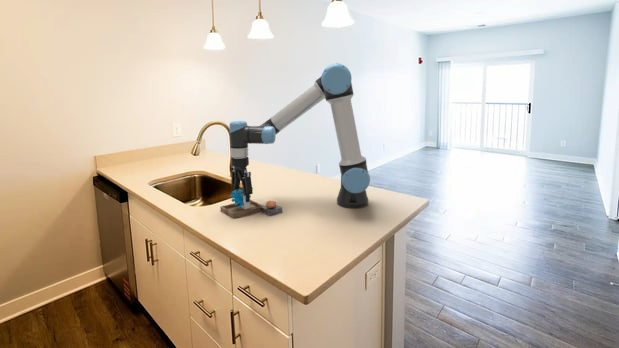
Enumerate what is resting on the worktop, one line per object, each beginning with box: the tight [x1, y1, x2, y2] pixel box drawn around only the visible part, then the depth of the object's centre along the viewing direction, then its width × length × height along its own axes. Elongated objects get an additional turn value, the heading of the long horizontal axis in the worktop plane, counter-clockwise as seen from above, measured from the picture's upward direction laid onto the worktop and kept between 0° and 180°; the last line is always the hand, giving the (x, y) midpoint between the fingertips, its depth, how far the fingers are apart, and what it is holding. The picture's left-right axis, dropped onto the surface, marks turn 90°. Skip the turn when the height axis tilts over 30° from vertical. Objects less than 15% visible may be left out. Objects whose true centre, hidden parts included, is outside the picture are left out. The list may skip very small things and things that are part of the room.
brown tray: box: [219, 199, 264, 220], centre depth 159 cm, size 13×16×2 cm
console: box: [260, 204, 283, 217], centre depth 157 cm, size 7×7×2 cm
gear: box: [229, 189, 252, 208], centre depth 159 cm, size 11×6×10 cm
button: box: [265, 200, 277, 209], centre depth 156 cm, size 4×4×3 cm
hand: (242, 205), depth 158 cm, fingers closed on gear, 8 cm apart
